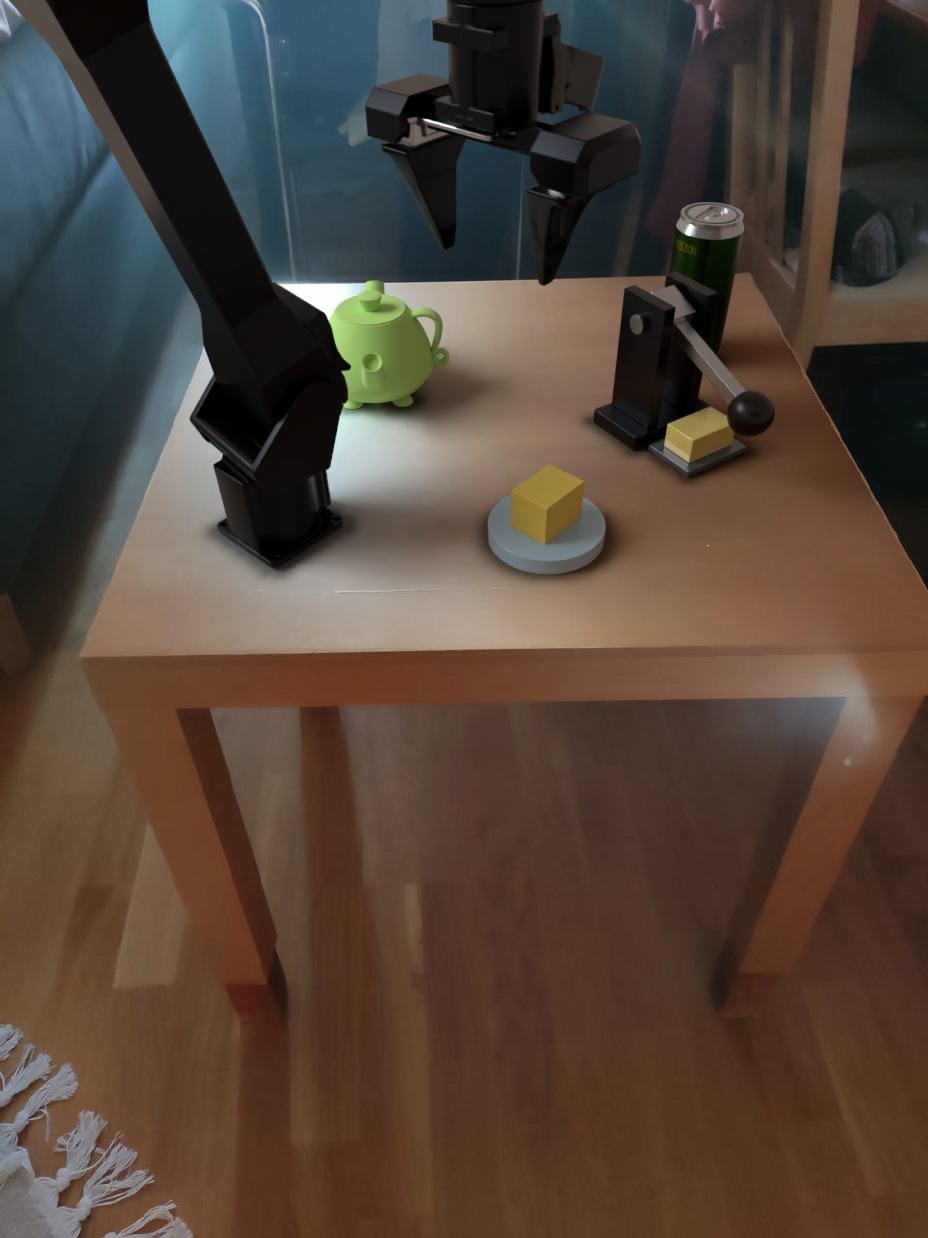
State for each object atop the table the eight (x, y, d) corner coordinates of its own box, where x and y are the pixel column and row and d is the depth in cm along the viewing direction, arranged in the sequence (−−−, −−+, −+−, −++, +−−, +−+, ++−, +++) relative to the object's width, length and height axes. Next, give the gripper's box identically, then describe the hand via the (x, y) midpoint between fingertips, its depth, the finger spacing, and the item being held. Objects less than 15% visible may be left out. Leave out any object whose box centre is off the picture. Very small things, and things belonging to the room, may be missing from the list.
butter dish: (745, 451, 68) (752, 423, 66) (687, 477, 66) (692, 449, 64) (705, 426, 71) (710, 398, 69) (647, 450, 68) (652, 421, 67)
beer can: (695, 373, 76) (721, 231, 68) (645, 352, 79) (664, 213, 71) (731, 352, 79) (760, 212, 71) (681, 332, 82) (703, 196, 73)
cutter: (710, 419, 71) (736, 288, 64) (633, 451, 68) (651, 317, 61) (667, 392, 74) (688, 264, 67) (592, 422, 71) (605, 291, 64)
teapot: (472, 386, 76) (471, 289, 70) (374, 443, 70) (364, 343, 64) (381, 345, 81) (373, 252, 75) (283, 395, 75) (266, 298, 69)
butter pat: (545, 545, 59) (547, 508, 57) (510, 526, 60) (511, 490, 58) (581, 516, 61) (585, 480, 59) (547, 499, 62) (549, 463, 60)
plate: (555, 591, 57) (556, 577, 56) (463, 539, 61) (463, 526, 60) (627, 532, 61) (629, 518, 60) (537, 487, 65) (537, 473, 64)
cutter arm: (769, 437, 63) (792, 408, 61) (737, 452, 62) (758, 422, 59) (664, 311, 67) (681, 278, 65) (632, 322, 66) (647, 289, 63)
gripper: (712, -9, 50) (673, 264, 61) (472, -41, 60) (475, 200, 71) (592, 28, 45) (573, 320, 56) (348, -15, 54) (372, 243, 65)
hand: (495, 264), depth 62 cm, fingers open, 9 cm apart
